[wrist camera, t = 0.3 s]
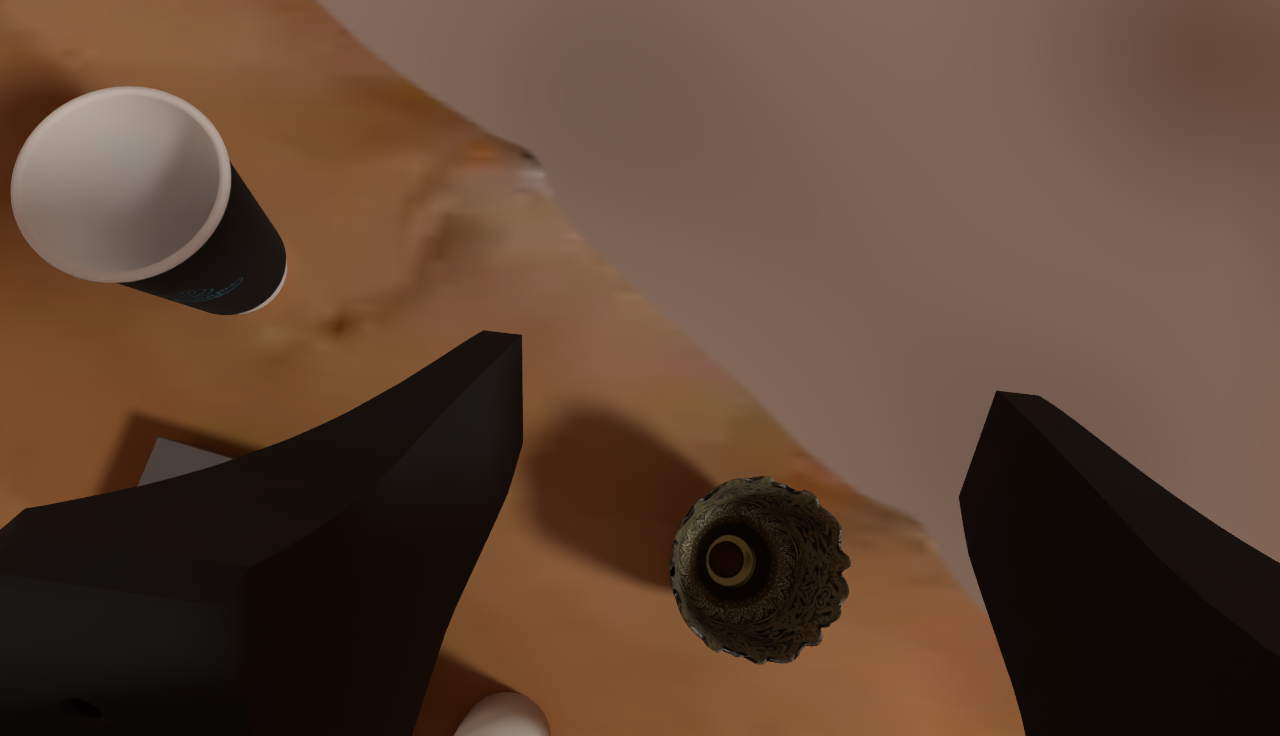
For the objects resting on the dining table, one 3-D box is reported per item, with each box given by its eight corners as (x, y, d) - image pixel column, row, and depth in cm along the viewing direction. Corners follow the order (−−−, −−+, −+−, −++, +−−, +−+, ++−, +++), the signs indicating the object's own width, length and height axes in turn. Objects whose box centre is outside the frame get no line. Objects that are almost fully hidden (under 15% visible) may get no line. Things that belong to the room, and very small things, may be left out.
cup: (630, 603, 40) (643, 623, 32) (682, 463, 41) (707, 449, 33) (770, 659, 40) (818, 693, 32) (818, 517, 41) (875, 516, 33)
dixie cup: (228, 377, 40) (100, 324, 29) (125, 265, 41) (-38, 174, 30) (351, 272, 42) (272, 185, 31) (250, 166, 42) (137, 45, 31)
